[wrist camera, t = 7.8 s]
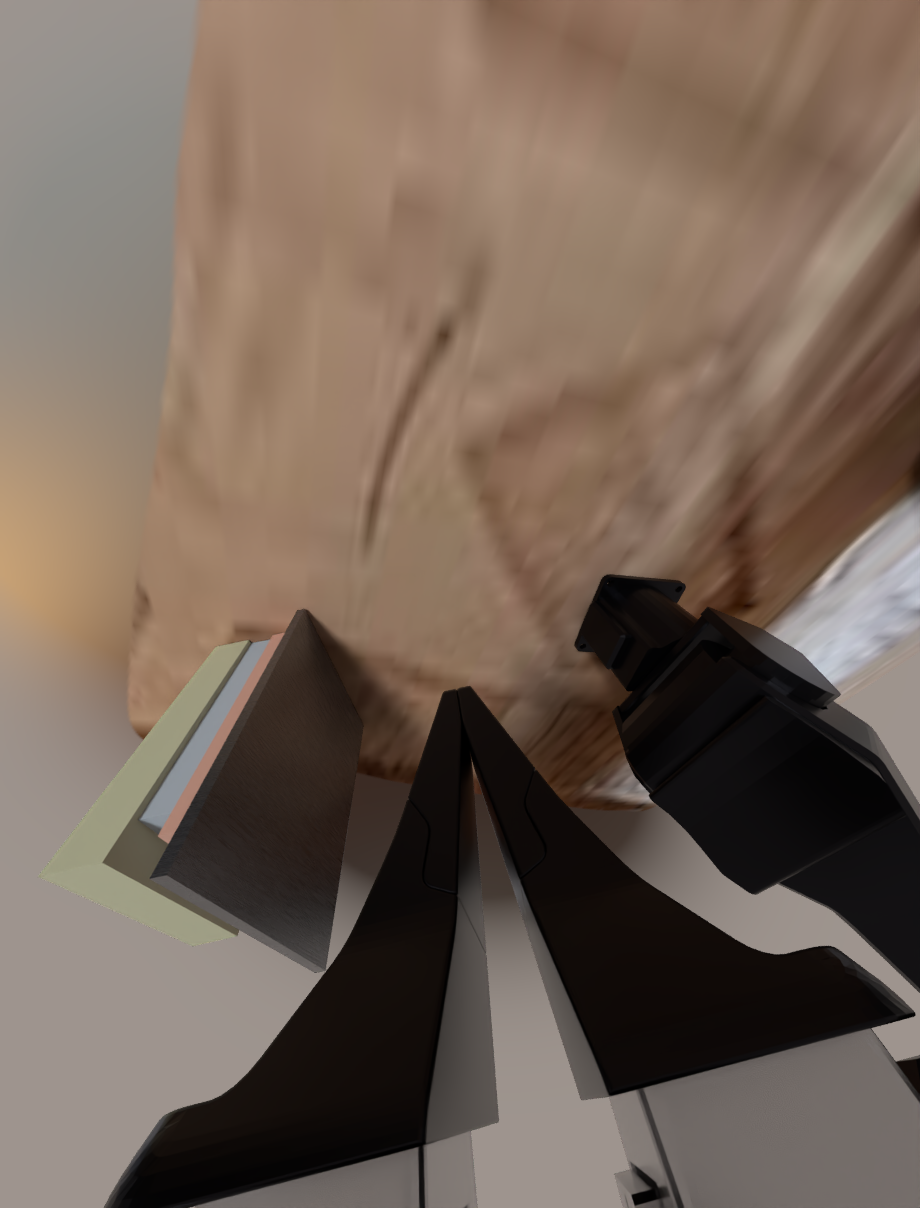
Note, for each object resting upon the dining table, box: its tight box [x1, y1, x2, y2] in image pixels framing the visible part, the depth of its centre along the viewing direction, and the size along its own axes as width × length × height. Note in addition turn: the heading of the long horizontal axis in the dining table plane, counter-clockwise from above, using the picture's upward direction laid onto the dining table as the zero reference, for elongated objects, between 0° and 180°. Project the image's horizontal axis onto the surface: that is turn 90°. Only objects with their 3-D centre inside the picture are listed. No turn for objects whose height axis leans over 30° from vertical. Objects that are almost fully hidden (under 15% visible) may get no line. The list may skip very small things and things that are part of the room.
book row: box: [38, 633, 285, 946], centre depth 19 cm, size 6×9×12 cm, turn 9°
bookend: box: [149, 609, 364, 973], centre depth 19 cm, size 1×12×14 cm, turn 10°
